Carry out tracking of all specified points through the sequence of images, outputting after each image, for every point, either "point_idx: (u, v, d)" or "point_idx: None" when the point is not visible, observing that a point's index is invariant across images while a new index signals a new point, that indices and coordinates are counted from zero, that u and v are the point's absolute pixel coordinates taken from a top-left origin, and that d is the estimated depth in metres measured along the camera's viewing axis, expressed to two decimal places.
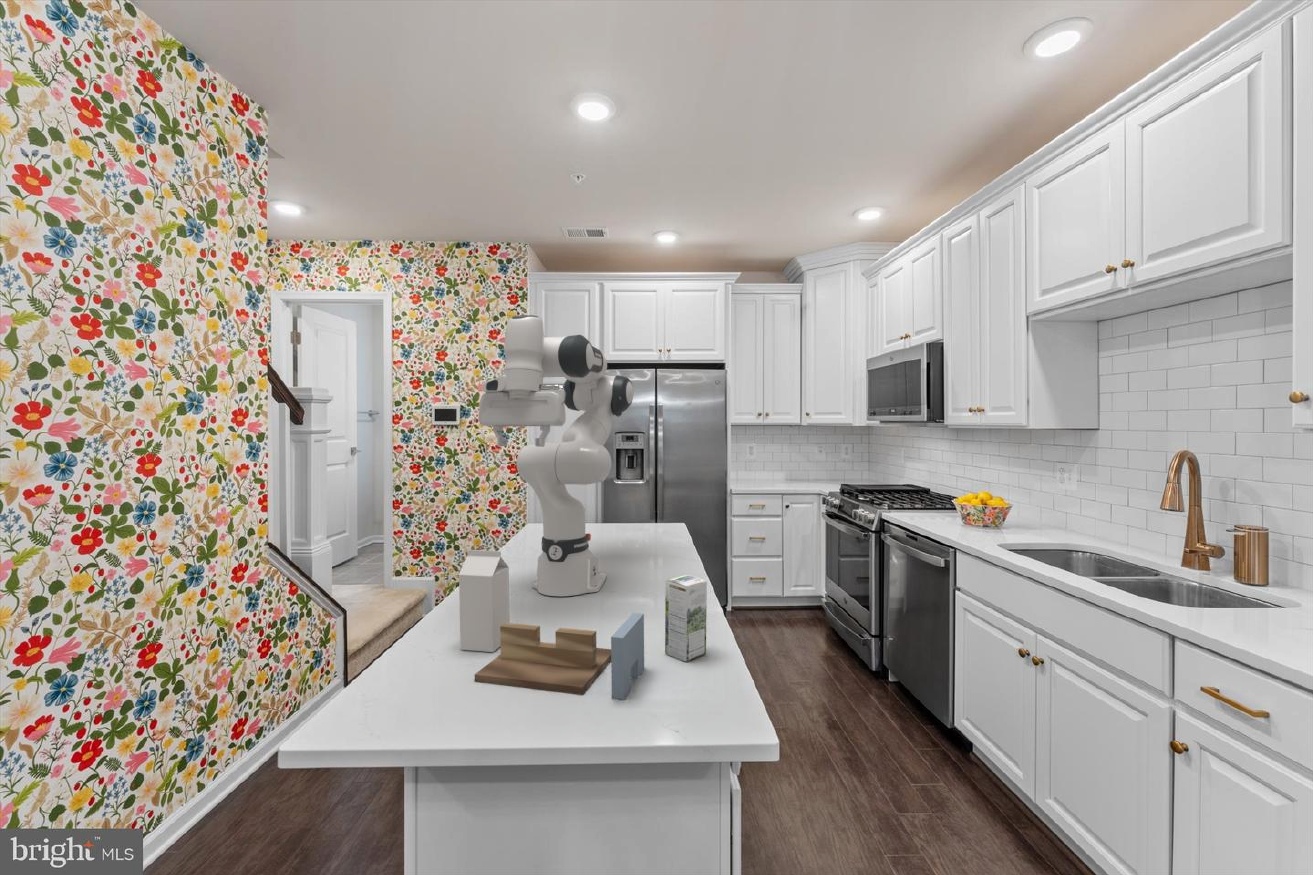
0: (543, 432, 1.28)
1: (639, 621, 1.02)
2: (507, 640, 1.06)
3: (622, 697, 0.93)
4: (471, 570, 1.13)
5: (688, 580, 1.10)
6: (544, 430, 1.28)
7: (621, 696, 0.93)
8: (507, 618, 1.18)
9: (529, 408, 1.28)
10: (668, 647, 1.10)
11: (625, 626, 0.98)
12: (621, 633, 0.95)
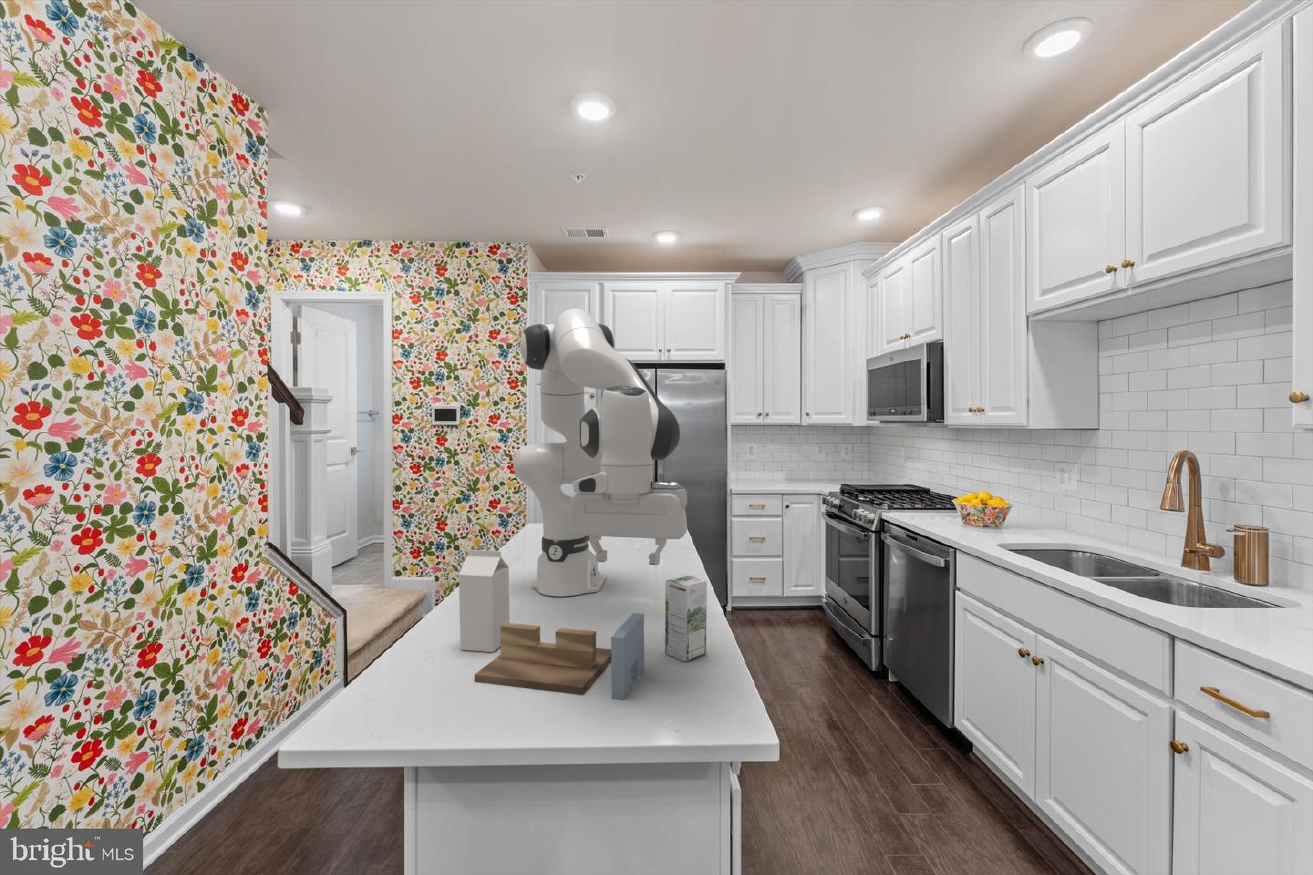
0: (660, 547, 0.96)
1: (639, 621, 1.02)
2: (507, 640, 1.06)
3: (622, 697, 0.93)
4: (471, 570, 1.13)
5: (688, 580, 1.10)
6: (661, 545, 0.96)
7: (621, 696, 0.93)
8: (507, 618, 1.18)
9: (639, 516, 0.96)
10: (668, 647, 1.10)
11: (625, 626, 0.98)
12: (621, 633, 0.95)
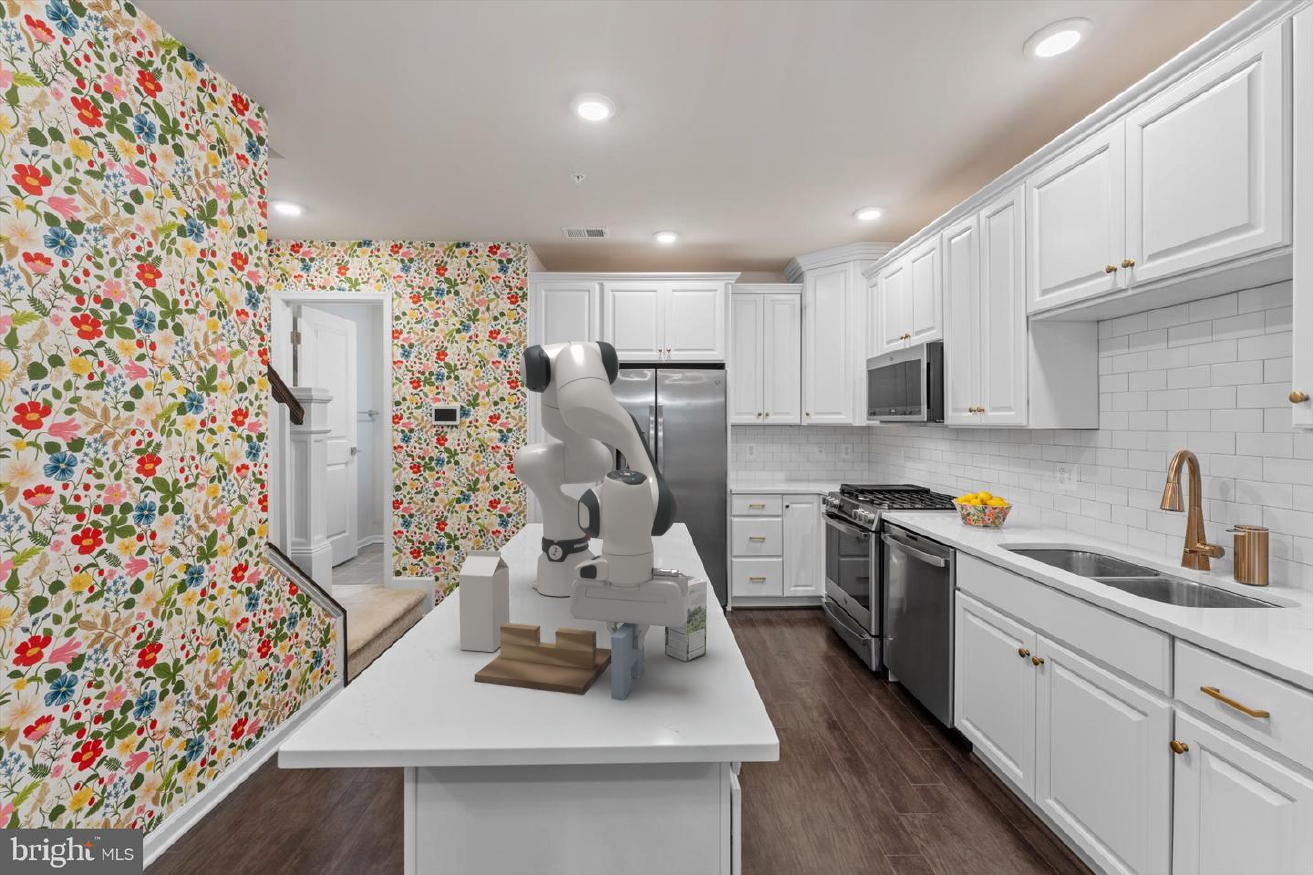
0: (643, 632, 0.97)
1: None
2: (507, 640, 1.06)
3: (622, 697, 0.93)
4: (471, 570, 1.13)
5: (688, 580, 1.10)
6: (644, 630, 0.97)
7: (621, 696, 0.93)
8: (507, 618, 1.18)
9: (640, 603, 0.96)
10: (668, 647, 1.10)
11: (625, 626, 0.98)
12: (621, 633, 0.95)
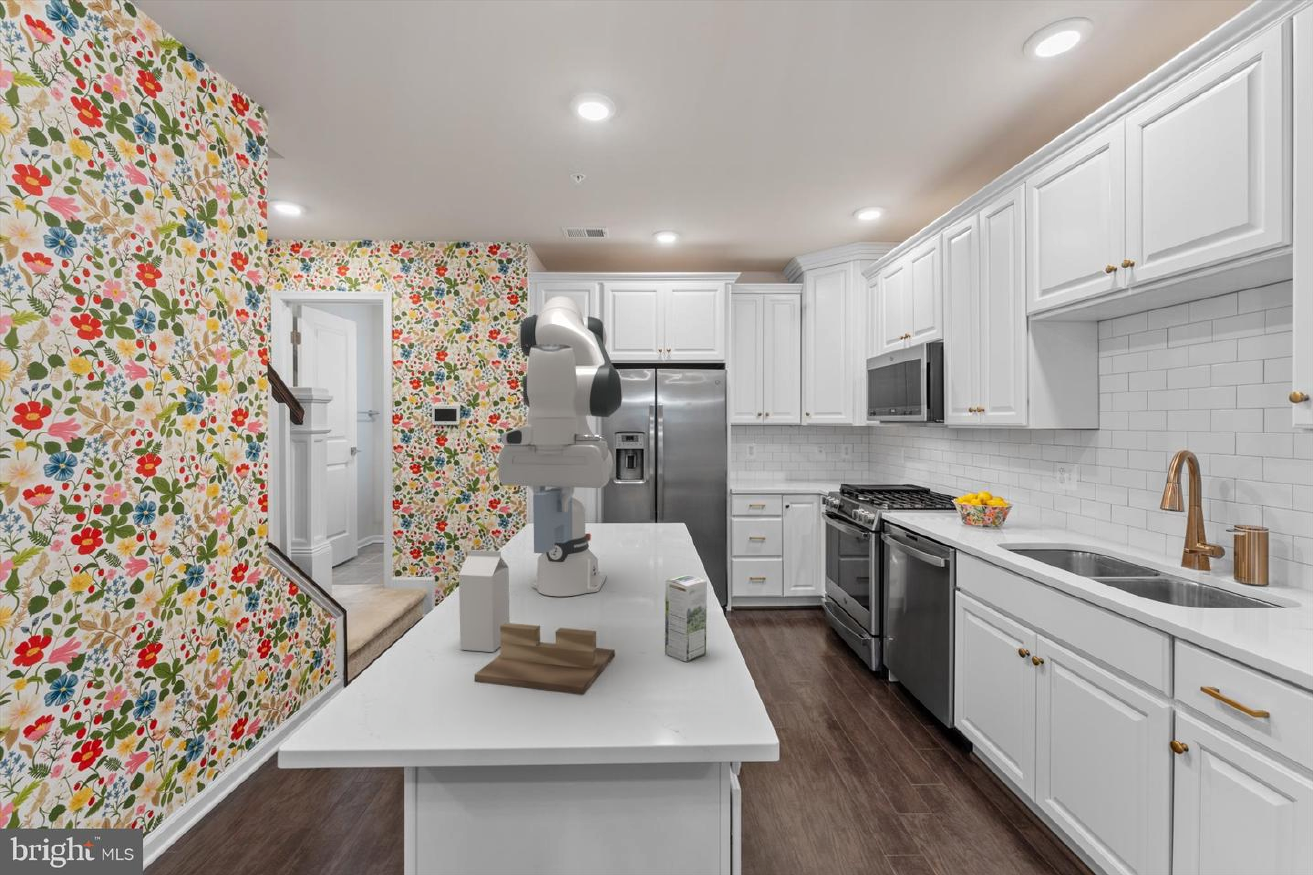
0: (566, 495, 1.02)
1: None
2: (507, 640, 1.06)
3: (543, 551, 0.98)
4: (471, 570, 1.13)
5: (688, 580, 1.10)
6: (567, 493, 1.02)
7: (543, 550, 0.98)
8: (507, 618, 1.18)
9: (563, 466, 1.01)
10: (668, 647, 1.10)
11: (550, 490, 1.03)
12: (543, 493, 1.00)
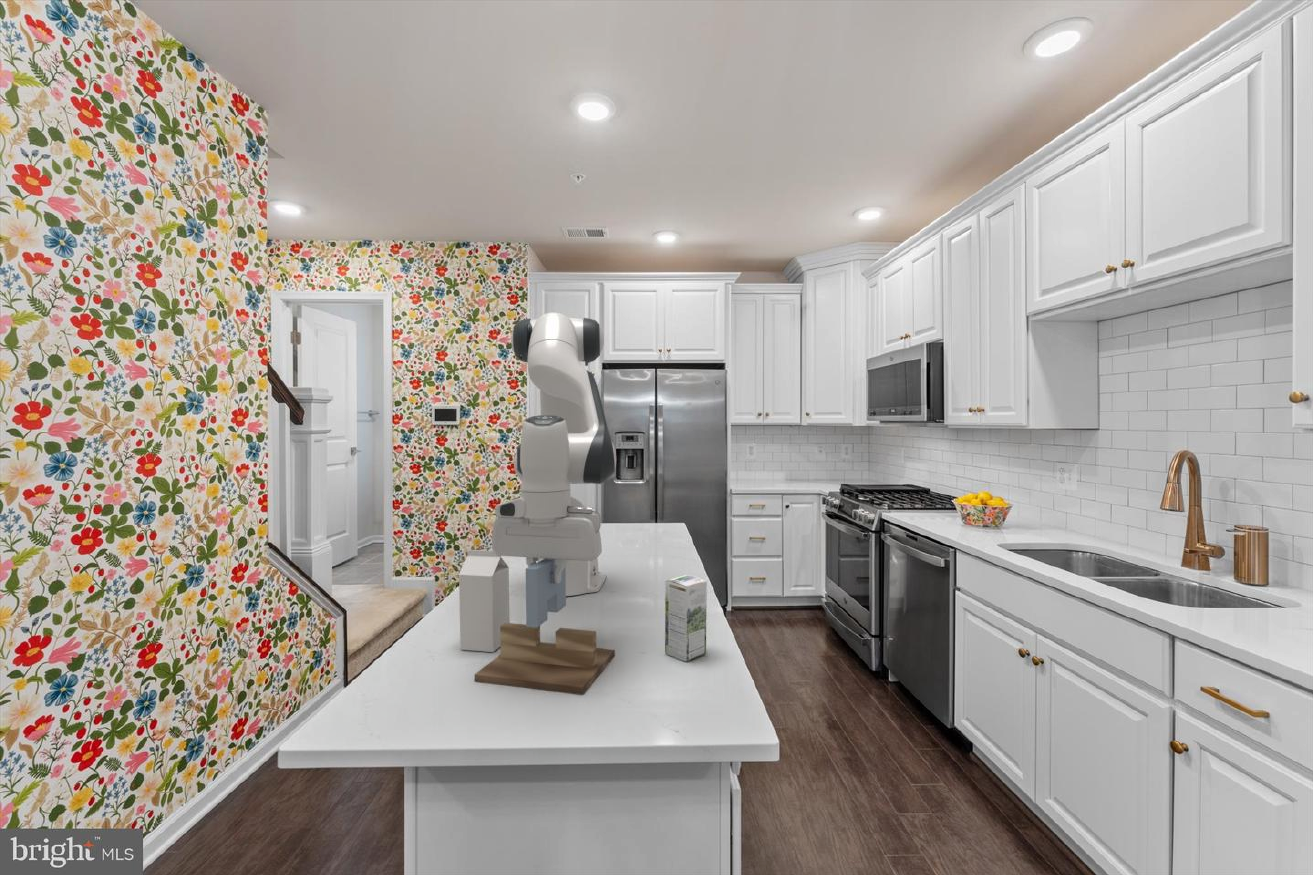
0: (559, 567, 1.03)
1: None
2: (507, 640, 1.06)
3: (536, 625, 0.99)
4: (471, 570, 1.13)
5: (688, 580, 1.10)
6: (560, 565, 1.03)
7: (535, 624, 0.99)
8: (507, 618, 1.18)
9: (555, 539, 1.02)
10: (668, 647, 1.10)
11: (543, 562, 1.03)
12: (536, 566, 1.00)
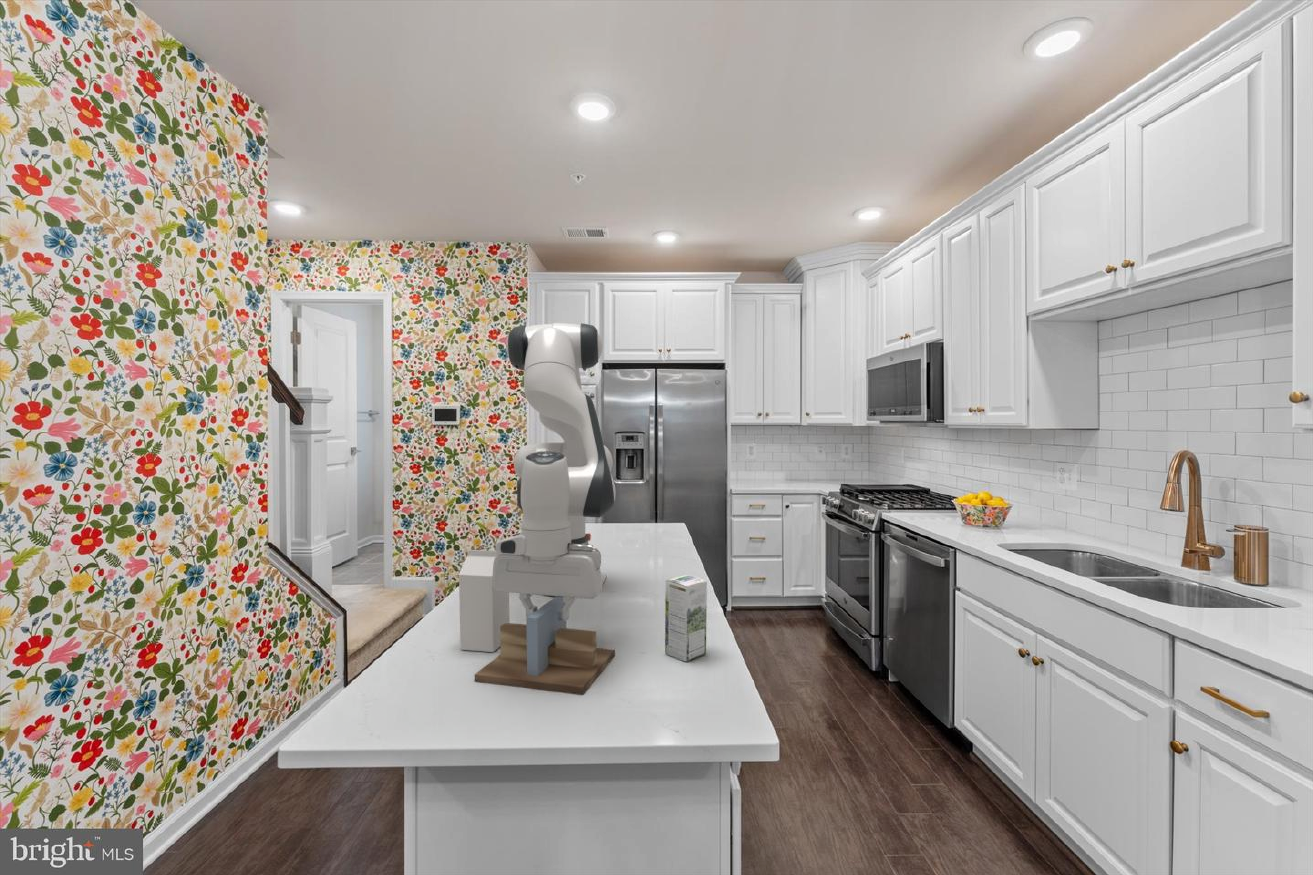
0: (567, 605, 1.03)
1: (560, 604, 1.08)
2: (507, 640, 1.06)
3: (536, 674, 0.99)
4: (471, 570, 1.13)
5: (688, 580, 1.10)
6: (568, 602, 1.03)
7: (536, 673, 0.99)
8: (507, 618, 1.18)
9: (556, 576, 1.02)
10: (668, 647, 1.10)
11: (543, 608, 1.04)
12: (537, 614, 1.01)
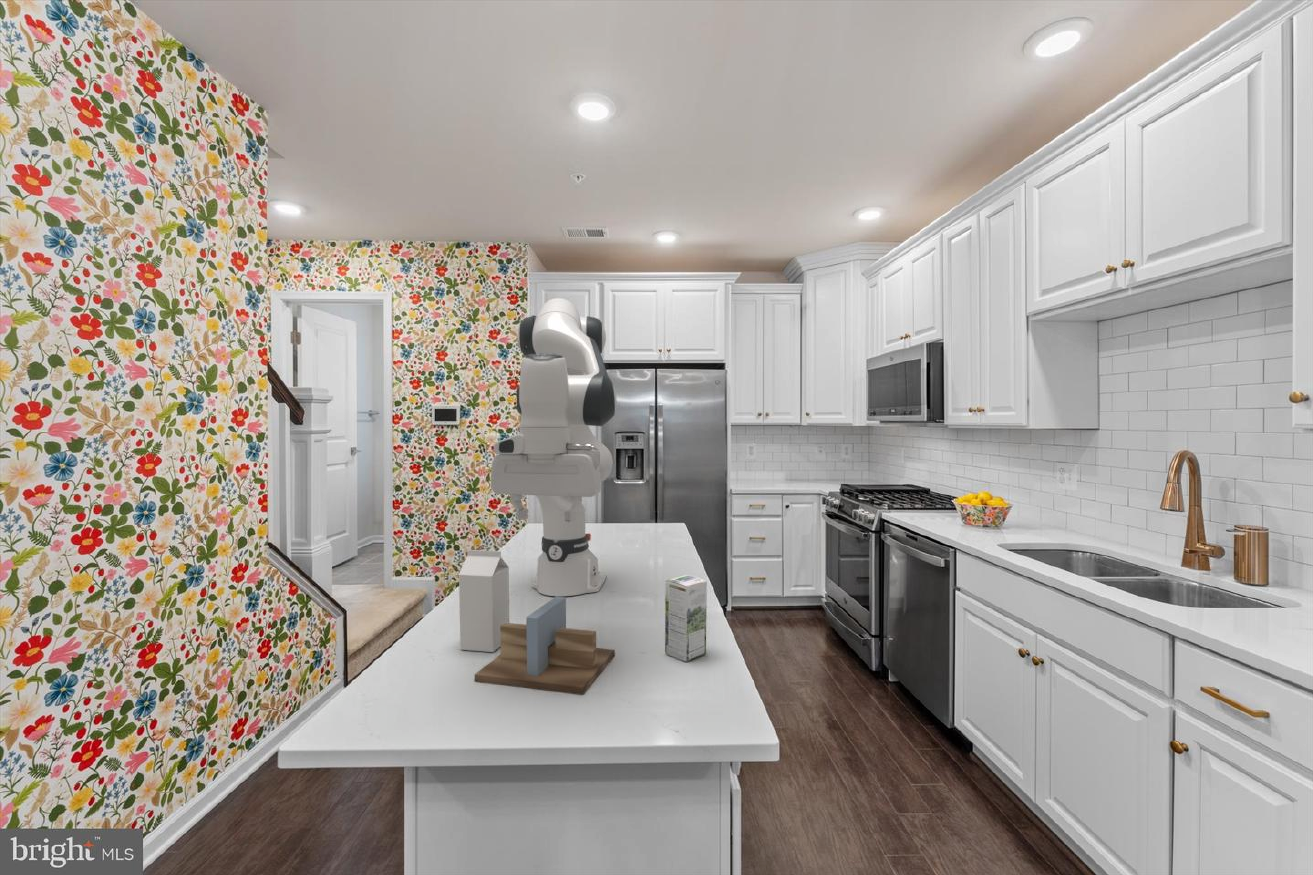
0: (574, 505, 1.02)
1: (560, 604, 1.08)
2: (507, 640, 1.06)
3: (536, 674, 0.99)
4: (471, 570, 1.13)
5: (688, 580, 1.10)
6: (575, 502, 1.02)
7: (536, 673, 0.99)
8: (507, 618, 1.18)
9: (555, 475, 1.02)
10: (668, 647, 1.10)
11: (543, 608, 1.04)
12: (537, 614, 1.01)
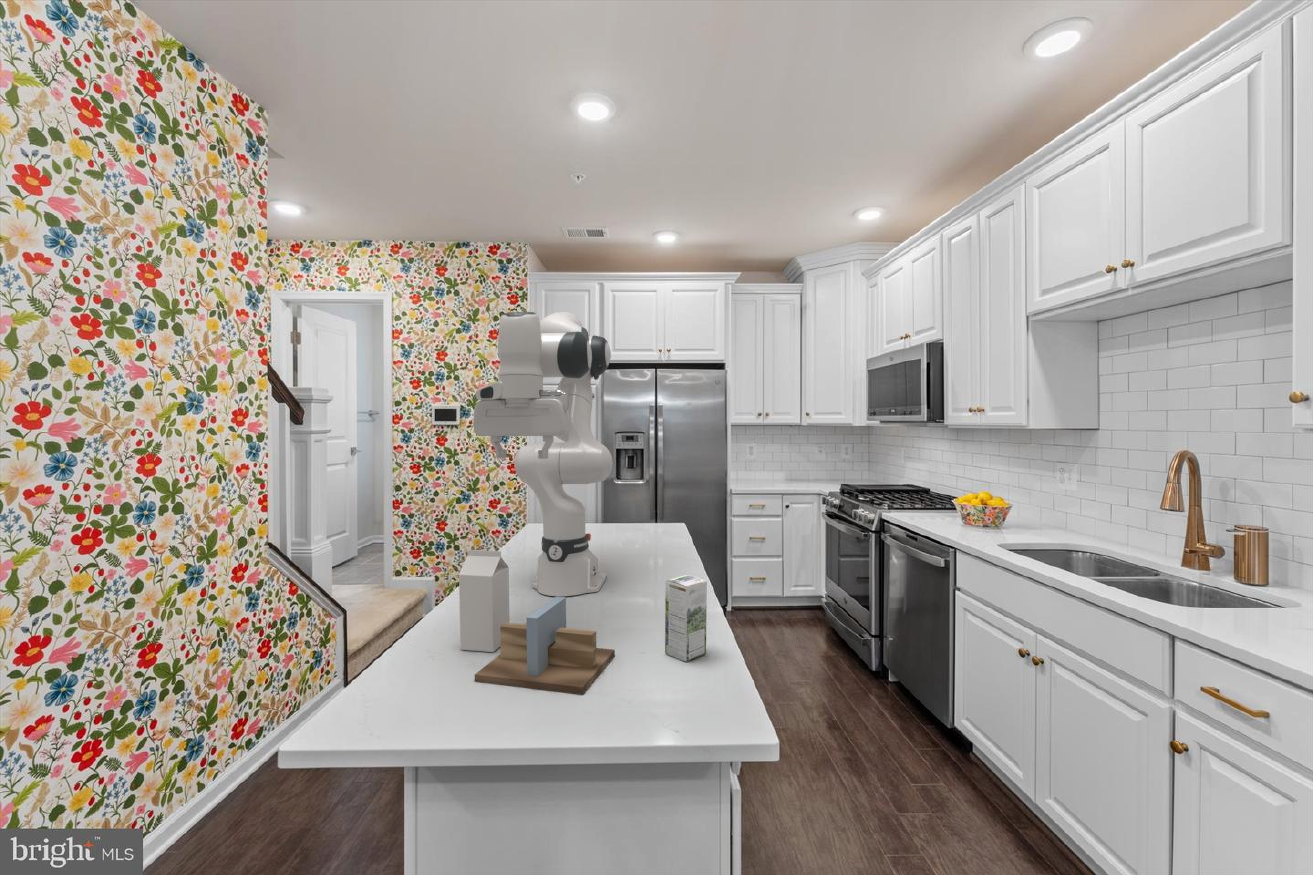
0: (546, 443, 1.16)
1: (560, 604, 1.08)
2: (507, 640, 1.06)
3: (536, 674, 0.99)
4: (471, 570, 1.13)
5: (688, 580, 1.10)
6: (547, 441, 1.16)
7: (536, 673, 0.99)
8: (507, 618, 1.18)
9: (529, 418, 1.16)
10: (668, 647, 1.10)
11: (543, 608, 1.04)
12: (537, 614, 1.01)
